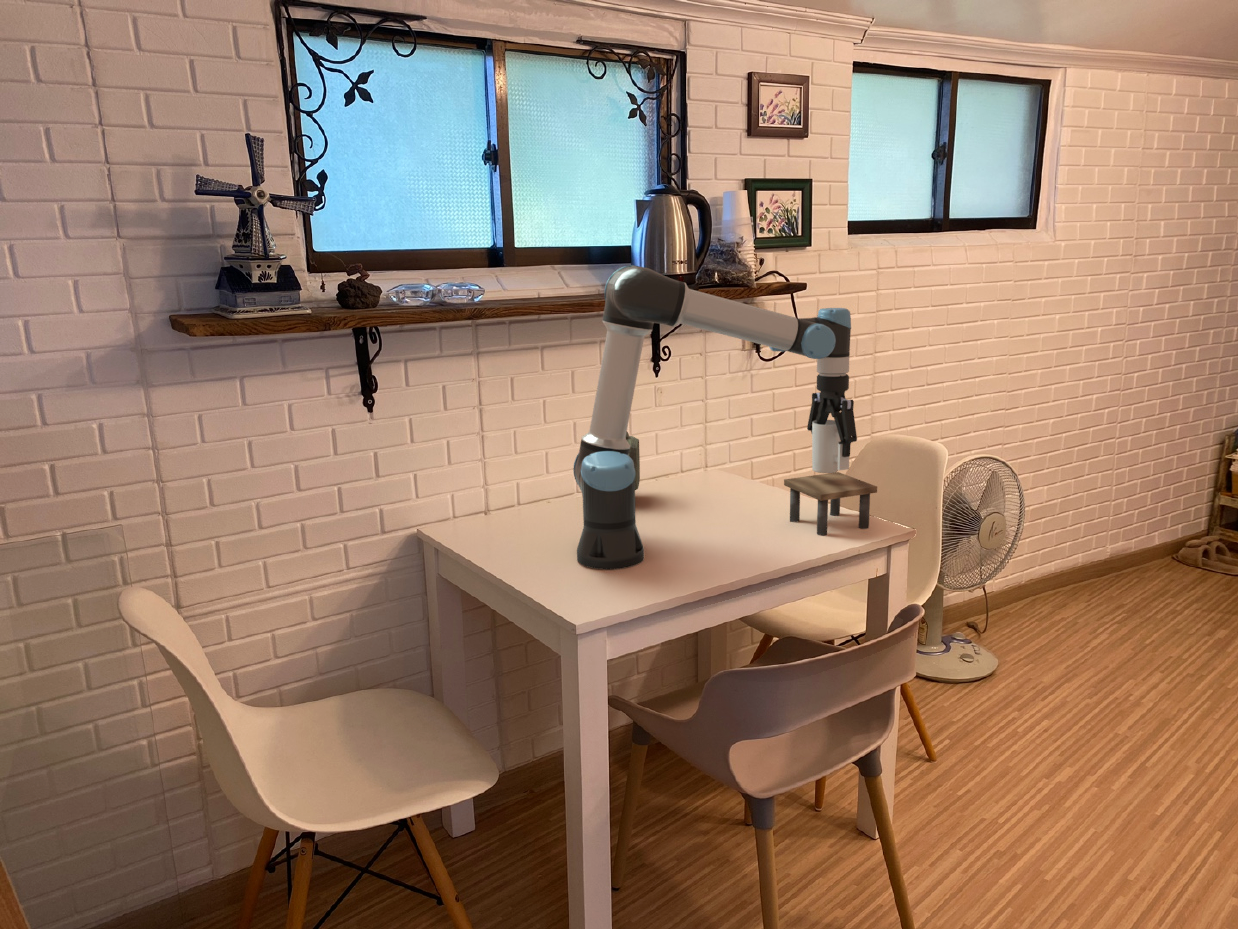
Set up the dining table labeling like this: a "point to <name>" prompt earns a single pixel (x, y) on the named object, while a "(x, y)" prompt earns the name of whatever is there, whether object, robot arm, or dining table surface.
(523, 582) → the dining table surface
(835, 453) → the mug
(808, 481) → the small wooden stand
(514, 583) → the dining table surface
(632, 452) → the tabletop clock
